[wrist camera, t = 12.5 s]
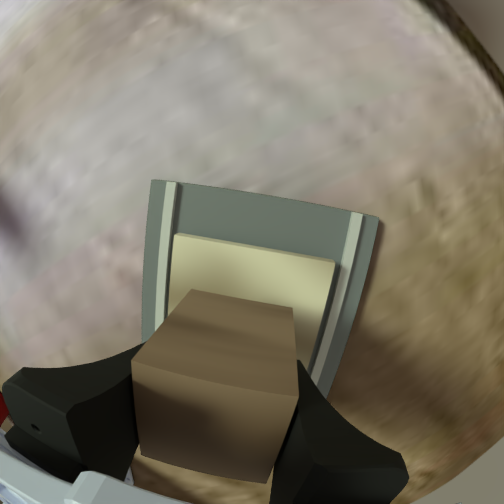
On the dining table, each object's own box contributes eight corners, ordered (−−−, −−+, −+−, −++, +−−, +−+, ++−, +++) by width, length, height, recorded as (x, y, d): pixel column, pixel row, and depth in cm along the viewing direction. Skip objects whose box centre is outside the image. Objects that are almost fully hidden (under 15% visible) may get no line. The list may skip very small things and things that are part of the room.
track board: (297, 457, 22) (297, 467, 21) (149, 428, 23) (145, 436, 22) (375, 216, 17) (381, 218, 16) (156, 179, 18) (148, 179, 17)
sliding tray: (298, 382, 19) (301, 449, 13) (172, 357, 20) (137, 415, 13) (331, 257, 17) (357, 295, 11) (182, 231, 18) (133, 254, 11)
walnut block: (272, 387, 14) (265, 483, 8) (185, 369, 14) (141, 455, 8) (292, 307, 13) (298, 396, 7) (191, 288, 13) (131, 360, 7)
